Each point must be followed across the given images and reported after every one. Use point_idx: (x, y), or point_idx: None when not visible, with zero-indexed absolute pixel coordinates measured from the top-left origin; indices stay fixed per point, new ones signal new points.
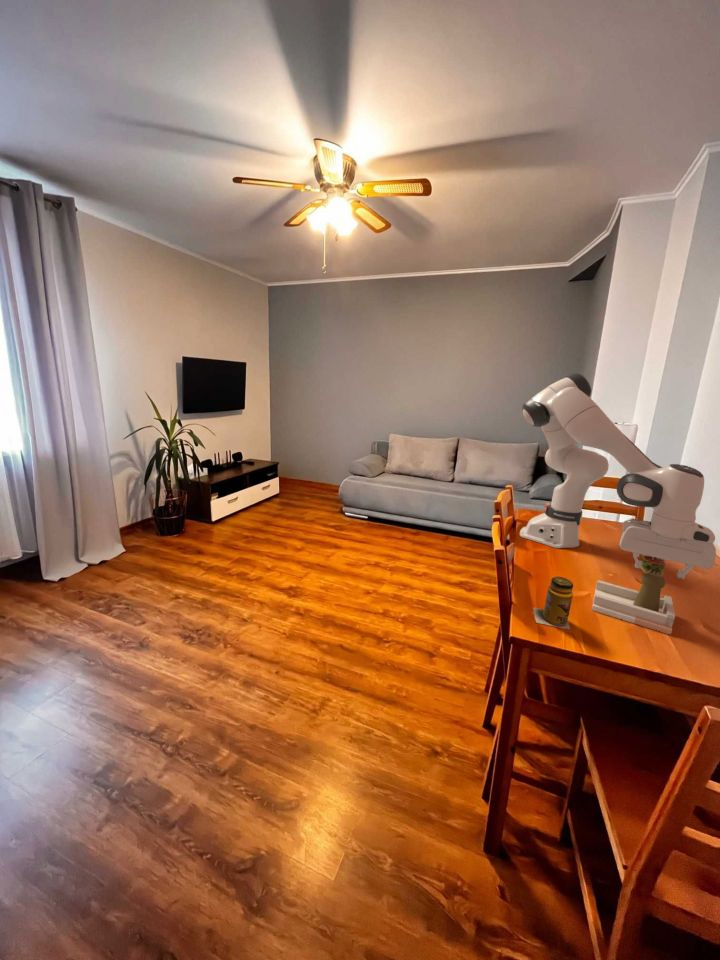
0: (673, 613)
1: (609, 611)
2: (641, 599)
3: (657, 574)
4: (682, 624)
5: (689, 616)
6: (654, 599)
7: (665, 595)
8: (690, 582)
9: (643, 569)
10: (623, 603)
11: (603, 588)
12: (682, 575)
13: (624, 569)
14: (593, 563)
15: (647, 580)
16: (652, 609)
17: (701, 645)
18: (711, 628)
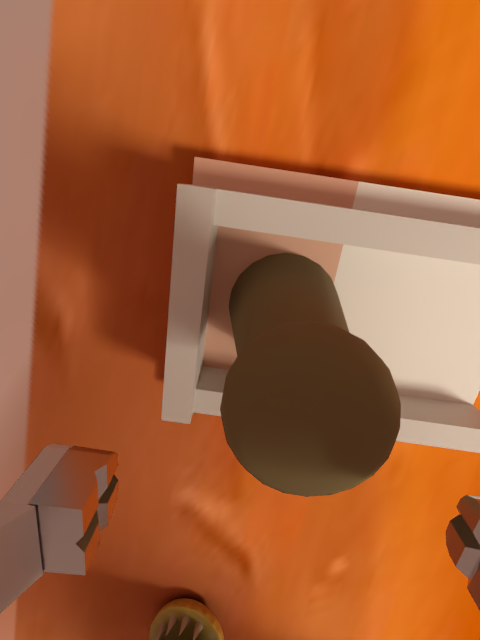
0: (181, 217)
1: (476, 199)
2: (335, 299)
3: (172, 618)
4: (135, 297)
5: (101, 381)
6: (276, 294)
7: (186, 422)
8: (73, 614)
9: (218, 632)
10: (435, 237)
11: (449, 409)
12: (53, 473)
13: (273, 618)
14: (381, 619)
15: (380, 362)
16: (271, 268)
17: (81, 135)
18: (33, 324)
